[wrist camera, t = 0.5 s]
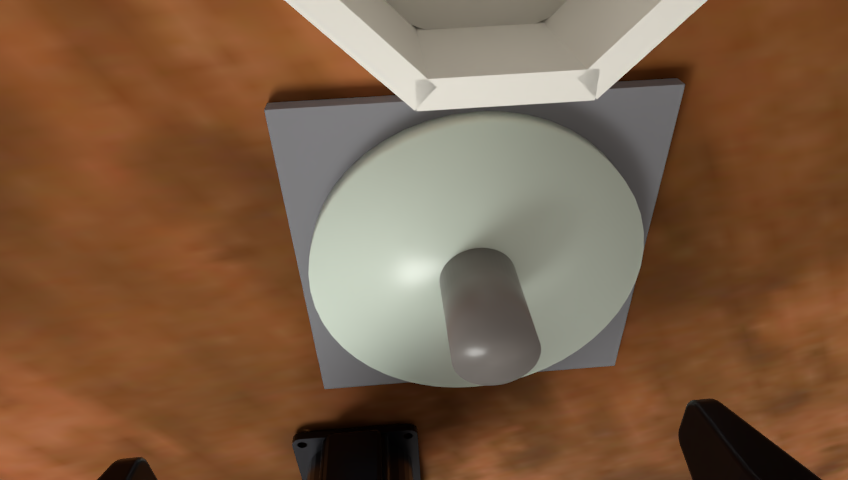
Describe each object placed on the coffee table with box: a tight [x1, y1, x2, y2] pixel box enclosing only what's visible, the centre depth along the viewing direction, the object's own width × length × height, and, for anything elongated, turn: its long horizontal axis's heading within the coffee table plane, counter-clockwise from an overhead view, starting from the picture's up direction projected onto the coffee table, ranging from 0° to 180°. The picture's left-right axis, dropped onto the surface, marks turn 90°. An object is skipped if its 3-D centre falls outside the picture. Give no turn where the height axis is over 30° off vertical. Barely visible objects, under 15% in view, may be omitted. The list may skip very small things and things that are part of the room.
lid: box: [308, 111, 644, 388], centre depth 20 cm, size 13×13×5 cm
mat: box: [264, 78, 685, 389], centre depth 23 cm, size 14×14×1 cm
